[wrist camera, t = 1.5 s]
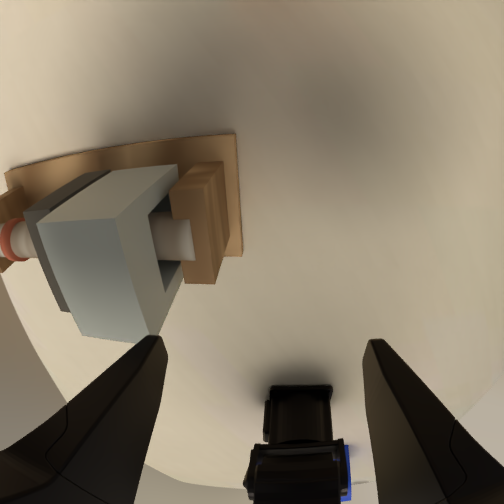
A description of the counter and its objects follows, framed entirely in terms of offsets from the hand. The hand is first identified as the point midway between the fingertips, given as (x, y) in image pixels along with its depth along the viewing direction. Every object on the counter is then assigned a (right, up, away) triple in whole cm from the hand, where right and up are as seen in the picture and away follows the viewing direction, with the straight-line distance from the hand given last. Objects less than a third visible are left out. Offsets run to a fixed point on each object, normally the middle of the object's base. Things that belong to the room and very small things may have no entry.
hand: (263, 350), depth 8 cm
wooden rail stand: (-11, +6, +12) cm, 17 cm away
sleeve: (-6, +5, +9) cm, 12 cm away
